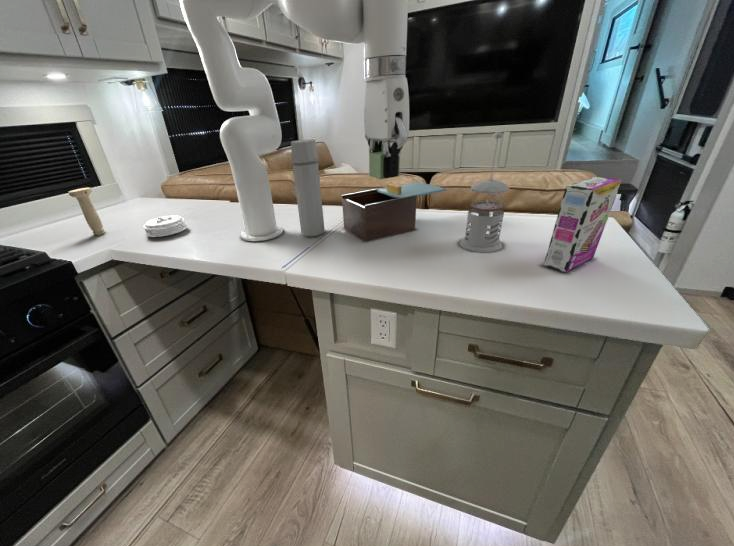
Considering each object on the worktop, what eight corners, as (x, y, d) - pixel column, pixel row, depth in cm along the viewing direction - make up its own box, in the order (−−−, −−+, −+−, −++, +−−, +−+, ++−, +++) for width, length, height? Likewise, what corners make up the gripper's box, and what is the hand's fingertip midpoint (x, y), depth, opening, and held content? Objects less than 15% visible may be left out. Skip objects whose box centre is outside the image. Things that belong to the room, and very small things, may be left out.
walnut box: (343, 227, 100) (341, 195, 95) (388, 218, 105) (388, 186, 100) (366, 241, 89) (365, 205, 84) (415, 230, 94) (417, 195, 89)
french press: (452, 246, 81) (465, 134, 69) (472, 233, 89) (487, 128, 76) (493, 255, 75) (515, 134, 63) (511, 239, 82) (534, 128, 70)
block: (369, 176, 71) (369, 153, 68) (387, 173, 72) (388, 150, 70) (380, 179, 67) (380, 155, 65) (399, 176, 69) (400, 152, 66)
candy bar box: (567, 274, 65) (594, 189, 57) (542, 266, 69) (563, 185, 61) (595, 258, 70) (623, 178, 62) (570, 252, 74) (594, 175, 66)
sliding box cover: (377, 191, 99) (377, 182, 97) (418, 183, 104) (419, 175, 102) (401, 199, 89) (401, 190, 87) (446, 190, 93) (447, 181, 92)
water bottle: (323, 237, 94) (313, 141, 81) (297, 237, 96) (283, 143, 83) (330, 227, 102) (322, 137, 89) (305, 227, 103) (294, 139, 91)
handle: (86, 237, 113) (64, 192, 105) (102, 230, 118) (83, 187, 110) (96, 237, 111) (75, 192, 103) (112, 231, 116) (93, 187, 109)
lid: (194, 230, 110) (190, 215, 107) (157, 242, 102) (151, 226, 99) (176, 224, 117) (171, 210, 115) (140, 235, 109) (134, 220, 107)
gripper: (430, 64, 55) (423, 178, 64) (379, 74, 68) (379, 168, 78) (392, 66, 52) (390, 184, 62) (346, 76, 66) (350, 172, 75)
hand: (384, 174), depth 70 cm, fingers closed on block, 4 cm apart
